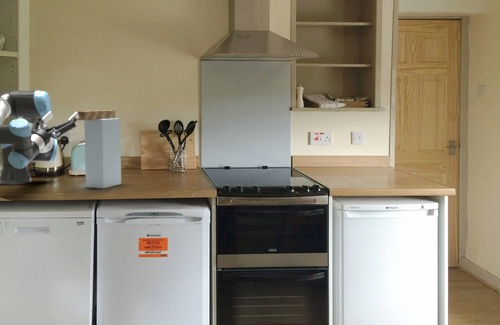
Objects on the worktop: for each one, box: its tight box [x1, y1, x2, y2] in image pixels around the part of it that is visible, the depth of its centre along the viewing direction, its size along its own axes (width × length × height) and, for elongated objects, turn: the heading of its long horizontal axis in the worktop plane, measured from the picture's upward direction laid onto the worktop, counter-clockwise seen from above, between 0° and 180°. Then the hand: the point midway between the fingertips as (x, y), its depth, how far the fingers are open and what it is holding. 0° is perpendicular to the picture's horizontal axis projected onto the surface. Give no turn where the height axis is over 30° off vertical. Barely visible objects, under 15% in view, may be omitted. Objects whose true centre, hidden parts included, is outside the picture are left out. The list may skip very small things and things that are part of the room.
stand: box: [83, 117, 122, 189], centre depth 287 cm, size 16×10×33 cm, turn 161°
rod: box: [76, 109, 116, 121], centre depth 280 cm, size 26×4×4 cm, turn 161°
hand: (64, 114), depth 255 cm, fingers open, 13 cm apart
